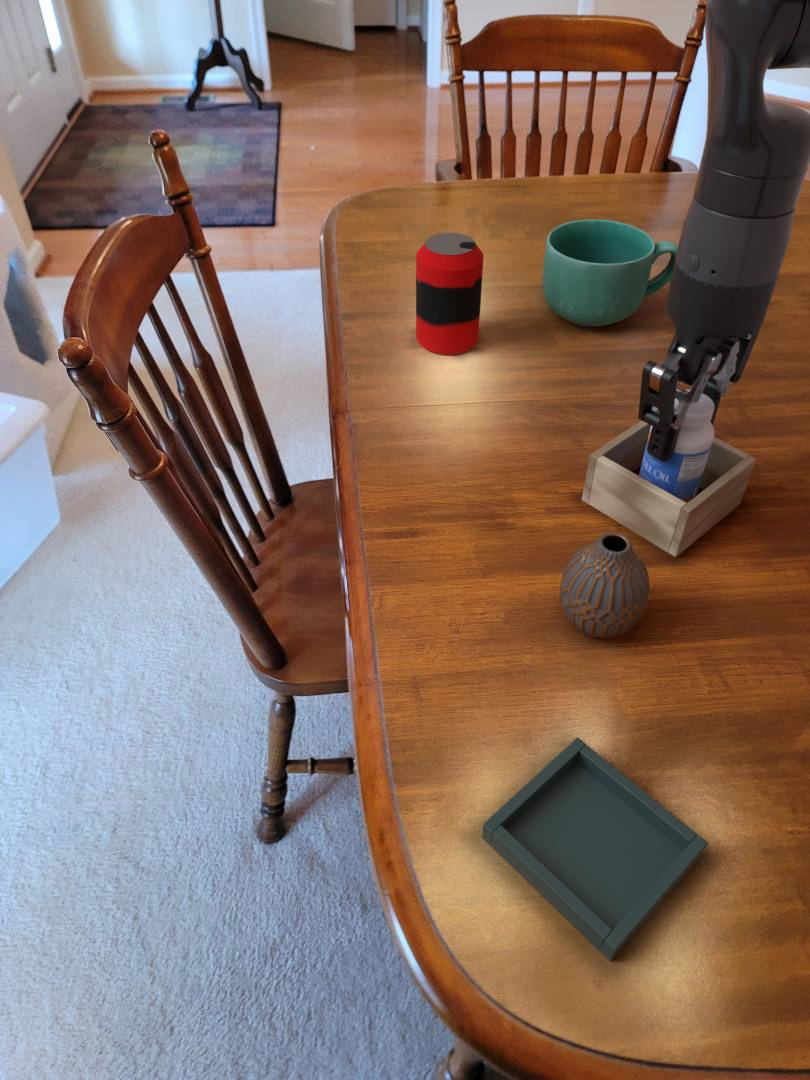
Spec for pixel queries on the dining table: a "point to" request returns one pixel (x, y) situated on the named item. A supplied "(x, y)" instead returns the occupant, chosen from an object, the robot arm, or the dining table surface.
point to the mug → (601, 270)
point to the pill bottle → (684, 453)
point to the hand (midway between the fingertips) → (679, 441)
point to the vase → (605, 587)
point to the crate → (652, 506)
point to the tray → (594, 845)
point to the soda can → (448, 293)
